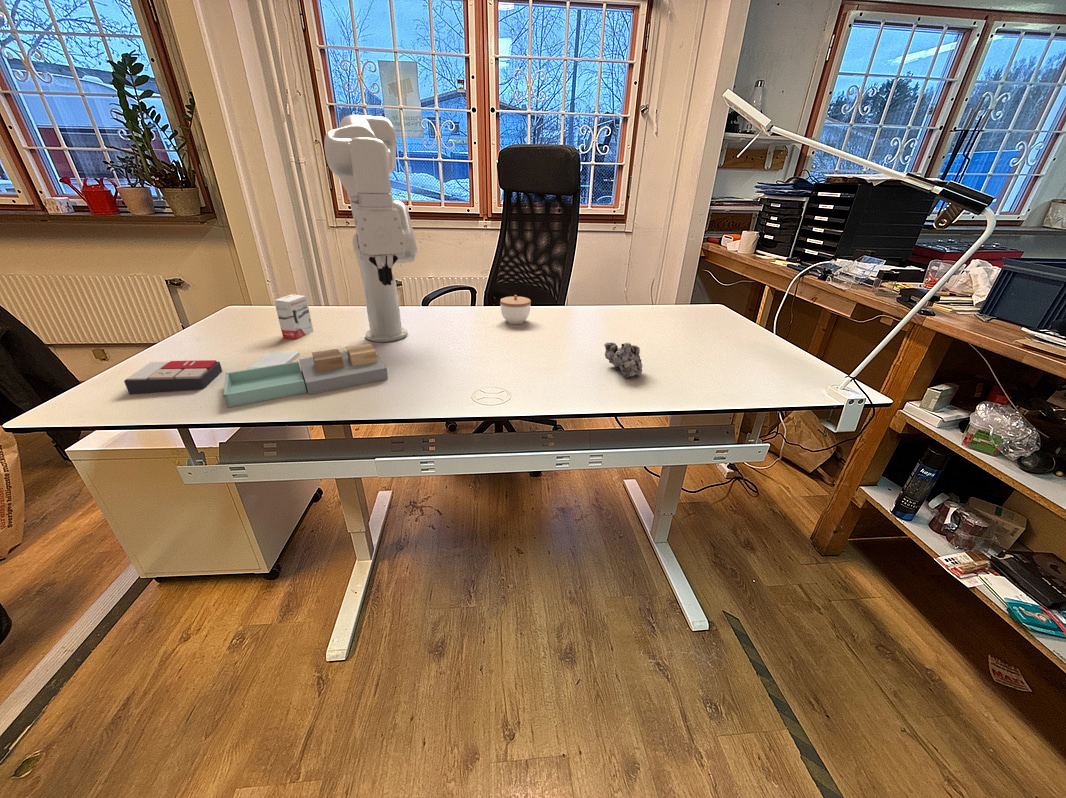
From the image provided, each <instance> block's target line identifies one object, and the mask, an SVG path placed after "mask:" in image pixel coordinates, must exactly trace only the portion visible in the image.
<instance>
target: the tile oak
mask: <svg viewBox="0 0 1066 798" xmlns="http://www.w3.org/2000/svg"><path fill="white" fill-rule="evenodd" d="M345 349H346V352H347V354H348V359H349V360H350V362H351V364H352V366H357V365H363V364H368V363H374V362H377V356H378V355H377V356H376V354H377V351H376V349H375V348H374V347H373V345H372V343H365V344H359V345H353V346H347V347H346V348H345Z"/></svg>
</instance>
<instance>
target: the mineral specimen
mask: <svg viewBox="0 0 1066 798" xmlns="http://www.w3.org/2000/svg"><path fill="white" fill-rule="evenodd" d="M603 346H604V347H605V352H604V356H605V357H604V358H605V359H607V360H608V362H609V363H610V364H611V365H613V366H614V369H616V370H619V371H620V373H621V374H622V377H623V379H624V380H626V379H628V378H629V377H635V376H641V375H642V373H643V363H642V359H641V356H640V354H641V353H640V352H641V348H640V347H639V346H638V345H633V344H631V343H630V342H628V341H627V342H623V343H621V347H618V344H616V343H615V342H606V343H604V344H603Z"/></svg>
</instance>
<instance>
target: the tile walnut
mask: <svg viewBox="0 0 1066 798" xmlns="http://www.w3.org/2000/svg"><path fill="white" fill-rule="evenodd" d="M340 353H341V352H340V349H338V348H332V349H326V350H319V351H314V352H311V356H312V357H313V360H314V364H315V367H316V370H317V372H323V371H328V370H334V369H340V368H344V365H343V360H342V356H341V354H340Z"/></svg>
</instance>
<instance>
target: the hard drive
mask: <svg viewBox="0 0 1066 798" xmlns="http://www.w3.org/2000/svg"><path fill="white" fill-rule="evenodd" d="M300 355H301V354H300V352H298V351H269V352H268V353H267V354H265V355H264V356H262V357H260V359H258V360H256V361H255V362H254V363H252V365H249V366H248V367H247V368H246V369H245V370H248V369H254V368H260V367H266V366H273V365H279V364H285V363H291V362H295V360H296V359H298V358H299V357H300Z"/></svg>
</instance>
